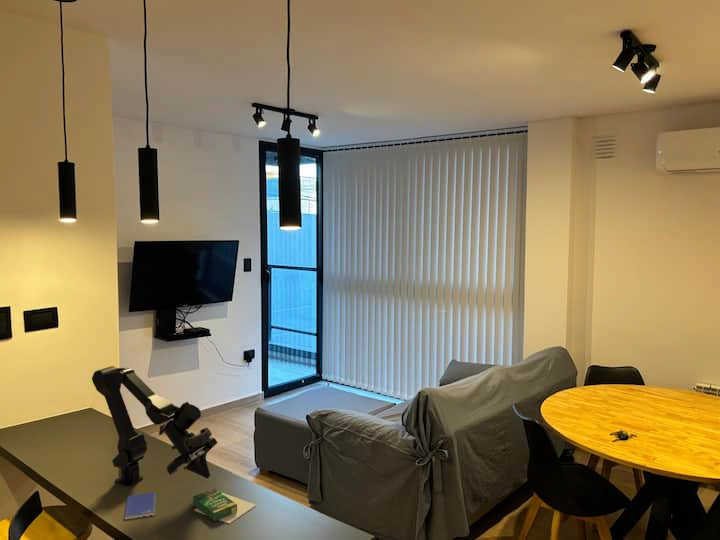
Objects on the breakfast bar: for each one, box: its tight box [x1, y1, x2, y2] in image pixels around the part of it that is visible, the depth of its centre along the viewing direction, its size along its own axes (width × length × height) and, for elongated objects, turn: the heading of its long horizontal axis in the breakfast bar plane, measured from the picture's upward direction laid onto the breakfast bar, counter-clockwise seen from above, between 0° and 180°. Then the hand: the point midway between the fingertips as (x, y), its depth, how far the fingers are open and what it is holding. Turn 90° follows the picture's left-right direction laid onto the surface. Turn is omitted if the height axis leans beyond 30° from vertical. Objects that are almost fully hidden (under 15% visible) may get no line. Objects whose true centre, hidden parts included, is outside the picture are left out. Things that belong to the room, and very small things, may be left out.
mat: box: [193, 492, 257, 525], centre depth 169 cm, size 14×12×1 cm
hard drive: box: [124, 492, 156, 520], centre depth 169 cm, size 2×8×12 cm
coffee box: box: [192, 488, 237, 522], centre depth 168 cm, size 8×3×13 cm
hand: (208, 477), depth 172 cm, fingers closed
